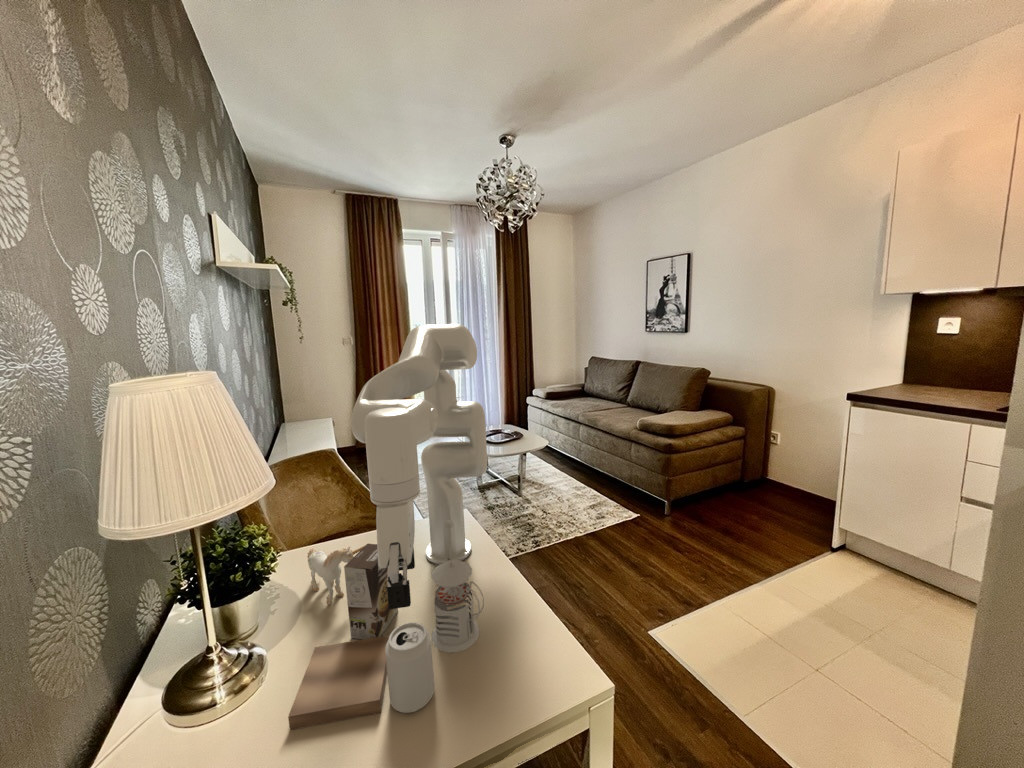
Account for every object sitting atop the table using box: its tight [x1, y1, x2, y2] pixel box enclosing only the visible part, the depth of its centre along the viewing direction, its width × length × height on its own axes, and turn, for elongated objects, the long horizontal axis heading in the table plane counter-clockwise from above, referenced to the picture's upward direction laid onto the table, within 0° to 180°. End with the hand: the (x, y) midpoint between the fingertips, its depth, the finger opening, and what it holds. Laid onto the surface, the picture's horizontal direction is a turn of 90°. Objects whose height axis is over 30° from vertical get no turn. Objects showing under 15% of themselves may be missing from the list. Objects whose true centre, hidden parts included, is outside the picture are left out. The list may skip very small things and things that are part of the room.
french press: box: [431, 520, 485, 653], centre depth 80 cm, size 10×12×25 cm
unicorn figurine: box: [306, 543, 371, 605], centre depth 95 cm, size 7×20×13 cm, turn 67°
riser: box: [287, 634, 390, 731], centre depth 72 cm, size 14×14×2 cm
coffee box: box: [343, 543, 399, 640], centre depth 85 cm, size 9×6×16 cm
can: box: [385, 621, 435, 714], centre depth 68 cm, size 8×8×12 cm
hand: (403, 586), depth 65 cm, fingers open, 9 cm apart
